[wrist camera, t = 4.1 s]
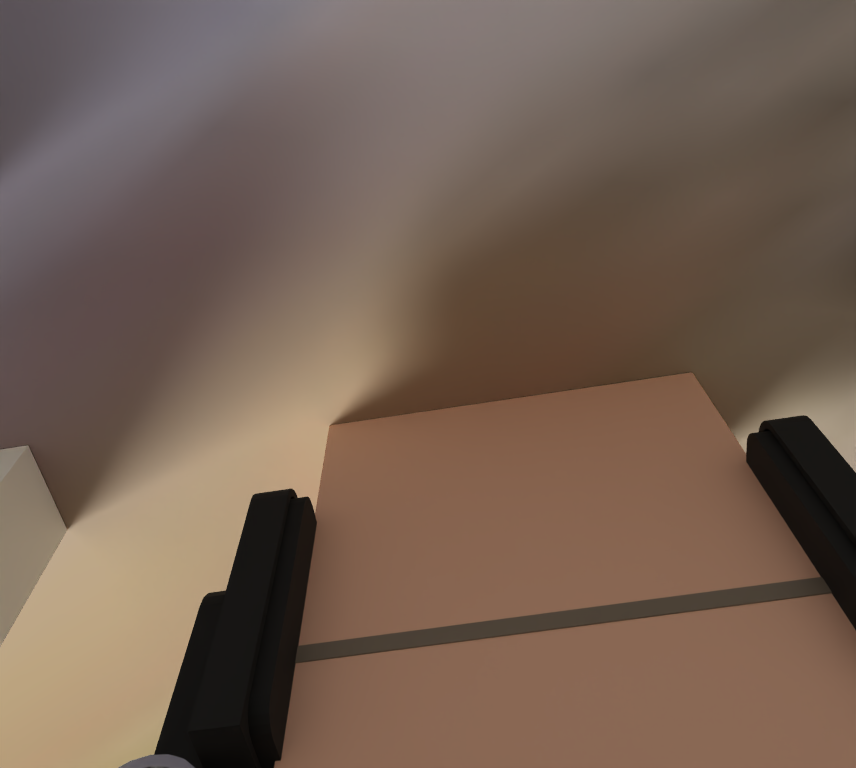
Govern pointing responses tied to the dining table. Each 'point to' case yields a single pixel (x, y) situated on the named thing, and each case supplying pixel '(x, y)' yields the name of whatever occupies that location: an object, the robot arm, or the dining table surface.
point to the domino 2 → (563, 596)
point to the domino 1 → (23, 531)
